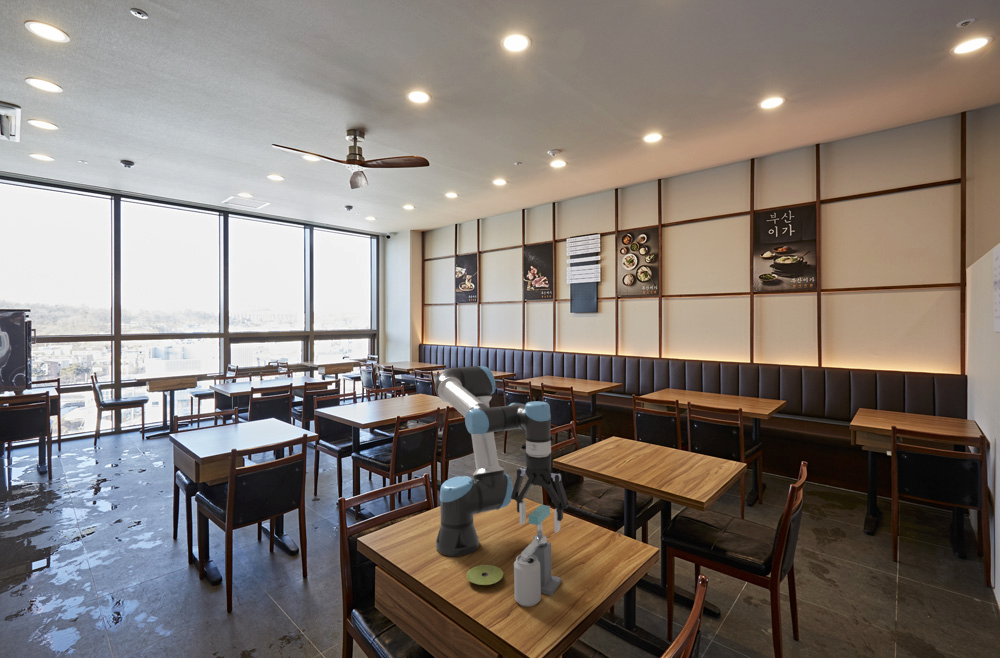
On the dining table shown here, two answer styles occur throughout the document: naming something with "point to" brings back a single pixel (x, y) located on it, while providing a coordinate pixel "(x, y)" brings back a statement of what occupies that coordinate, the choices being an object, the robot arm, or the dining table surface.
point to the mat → (484, 574)
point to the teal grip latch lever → (538, 539)
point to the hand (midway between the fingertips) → (539, 526)
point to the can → (527, 580)
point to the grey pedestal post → (546, 570)
